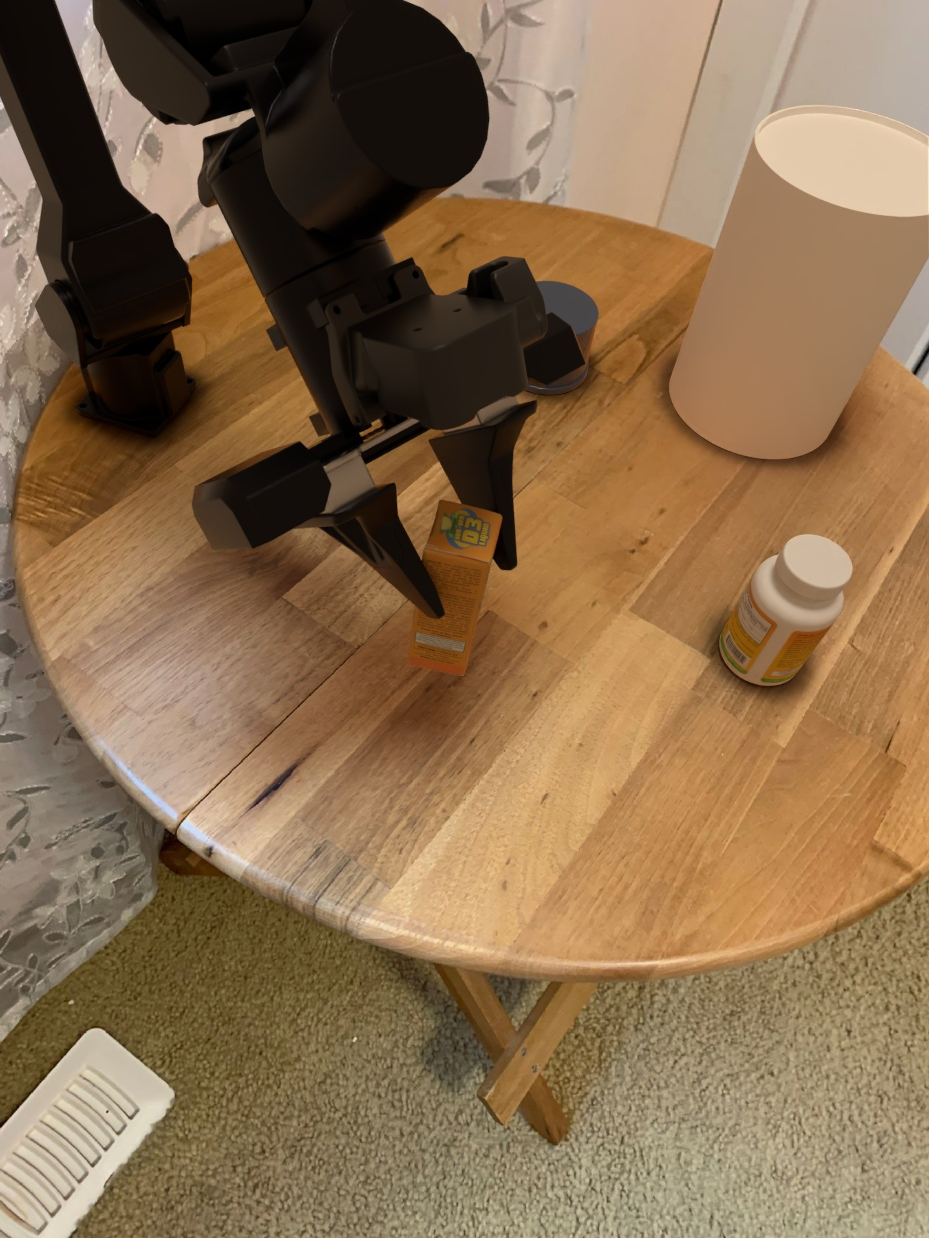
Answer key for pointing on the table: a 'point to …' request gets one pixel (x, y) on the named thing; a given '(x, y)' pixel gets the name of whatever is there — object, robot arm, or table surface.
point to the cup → (583, 320)
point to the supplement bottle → (786, 610)
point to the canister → (803, 278)
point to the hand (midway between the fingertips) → (474, 592)
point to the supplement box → (454, 585)
